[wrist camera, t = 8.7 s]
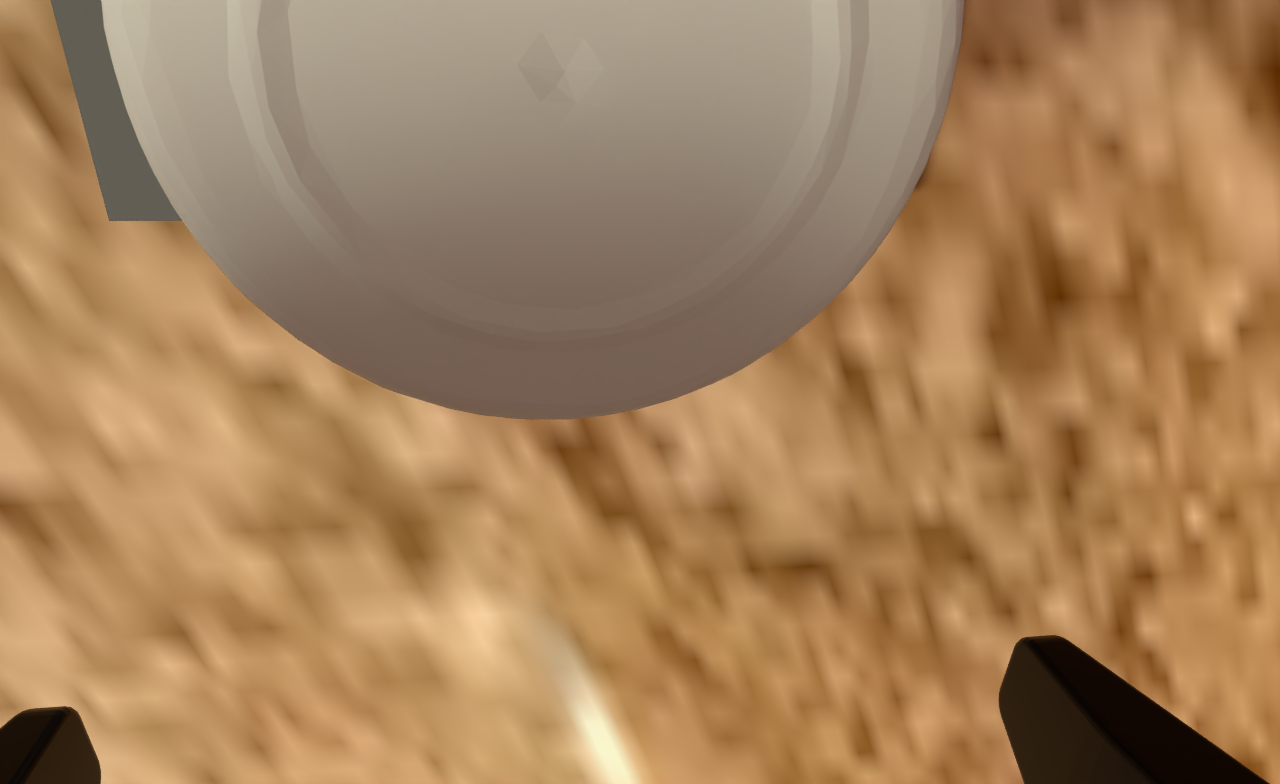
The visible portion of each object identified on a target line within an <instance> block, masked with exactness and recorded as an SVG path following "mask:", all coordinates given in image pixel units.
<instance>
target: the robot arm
mask: <svg viewBox="0 0 1280 784" xmlns="http://www.w3.org/2000/svg"><path fill="white" fill-rule="evenodd" d="M999 708H1000V713H1001V717H1002V720H1003V723H1004V726H1005V729H1006V732H1007V735H1008V738H1009V741H1010V743H1011V746H1012V749H1013V752H1014V755H1015V758H1016V761H1017V764H1018V767H1019V770H1020V773H1021V776H1022V778H1023V781H1024V784H1269V783H1268V782H1267V781H1265V780H1264V779H1262V778H1261V777H1259V776H1258V775H1257V774H1255V773H1254V772H1252V771H1251V770H1250V769H1248V768H1247V767H1245V766H1244V765H1243V764H1241V763H1240V762H1238V761H1237V760H1236V759H1234V758H1233V757H1231V756H1230V755H1229V754H1227V753H1226V752H1224V751H1223V750H1222V749H1220V748H1219V747H1217V746H1216V745H1215V744H1213V743H1212V742H1210V741H1209V740H1208V739H1206V738H1205V737H1203V736H1202V735H1200V734H1199V733H1198V732H1196V731H1195V730H1193V729H1192V728H1191V727H1189V726H1188V725H1186V724H1185V723H1184V722H1182V721H1181V720H1179V719H1178V718H1177V717H1175V716H1174V715H1172V714H1171V713H1170V712H1168V711H1167V710H1165V709H1164V708H1163V707H1161V706H1160V705H1158V704H1157V703H1156V702H1154V701H1153V700H1151V699H1150V698H1148V697H1147V696H1146V695H1144V694H1143V693H1141V692H1140V691H1139V690H1137V689H1136V688H1134V687H1133V686H1132V685H1130V684H1129V683H1127V682H1126V681H1125V680H1123V679H1122V678H1120V677H1119V676H1118V675H1116V674H1115V673H1113V672H1112V671H1111V670H1109V669H1108V668H1106V667H1105V666H1104V665H1102V664H1101V663H1099V662H1098V661H1097V660H1095V659H1094V658H1092V657H1091V656H1089V655H1088V654H1087V653H1085V652H1084V651H1082V650H1081V649H1080V648H1078V647H1077V646H1075V645H1074V644H1073V643H1071V642H1070V641H1068V640H1067V639H1065V638H1063V637H1060V636H1056V635H1048V636H1034V637H1025V638H1022V639H1020V640H1019V641H1018V642H1017V643H1016V645H1015V647H1014V650H1013V653H1012V655H1011V658H1010V661H1009V664H1008V667H1007V670H1006V673H1005V676H1004V679H1003V682H1002V685H1001V687H1000V691H999ZM100 783H101V769H100V764H99V760H98V758H97V755H96V753H95V751H94V748H93V746H92V744H91V741H90V739H89V736H88V734H87V732H86V729H85V727H84V724H83V722H82V720H81V717H80V715H79V714H78V712H77V711H76V710H74V709H73V708H71V707H66V706H63V707H49V708H35V709H28V710H25V711H22V712H21V713H19V714H17V715H16V716H14V717H13V718H12V719H10V720H9V721H8V722H7V723H6V724H5V725H4V726H2V727H1V728H0V784H100Z"/></svg>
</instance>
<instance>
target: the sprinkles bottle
mask: <svg viewBox="0 0 1280 784" xmlns="http://www.w3.org/2000/svg"><path fill="white" fill-rule="evenodd" d="M101 3H102V12H103V23H104V30H105V34H106V38H107V43H108V47H109V51H110V55H111V59H112V63H113V67H114V70H115V74H116V77H117V80H118V84H119V87H120V90H121V94H122V97H123V100H124V104H125V107H126V110H127V112H128V115H129V117H130V120H131V123H132V125H133V128H134V130H135V133H136V135H137V138H138V141H139V143H140V145H141V147H142V149H143V152H144V154H145V156H146V158H147V160H148V162H149V164H150V166H151V168H152V170H153V172H154V174H155V176H156V178H157V180H158V181H159V183H160V185H161V187H162V189H163V190H164V192H165V194H166V196H167V197H168V199H169V201H170V203H171V205H172V206H173V208H174V209H175V211H176V212H177V214H178V215H179V217H180V218H181V219H182V221H183V222H184V224H185V225H186V227H187V228H188V229H189V231H190V232H191V234H192V235H193V237H194V238H195V239H196V241H197V242H198V244H199V245H200V246H201V247H202V248H203V249H204V251H205V252H206V253H207V254H208V255H209V256H210V258H211V259H212V260H213V261H214V262H215V263H216V265H217V266H218V267H219V268H220V269H221V270H222V272H223V273H224V274H225V275H226V276H227V277H228V279H229V280H230V281H231V282H232V283H233V284H234V285H235V286H236V287H237V288H238V289H239V290H240V291H241V292H242V293H243V294H244V295H245V296H246V297H247V298H248V299H249V300H250V301H251V302H252V303H253V304H255V305H256V306H257V307H258V308H259V309H261V310H262V311H263V312H264V313H265V314H266V315H267V316H269V317H270V318H271V319H273V320H274V321H275V322H276V323H278V324H279V325H280V326H281V327H283V328H284V329H285V330H287V331H288V332H289V333H290V334H292V335H293V336H294V337H295V338H297V339H298V340H300V341H301V342H303V343H304V344H306V345H307V346H309V347H310V348H312V349H314V350H315V351H317V352H318V353H320V354H321V355H323V356H324V357H326V358H327V359H329V360H331V361H332V362H334V363H336V364H338V365H340V366H342V367H343V368H345V369H347V370H349V371H351V372H353V373H355V374H357V375H359V376H361V377H363V378H365V379H367V380H369V381H371V382H373V383H375V384H377V385H379V386H381V387H383V388H386V389H389V390H391V391H394V392H397V393H400V394H403V395H406V396H410V397H413V398H416V399H420V400H423V401H426V402H429V403H433V404H436V405H439V406H443V407H446V408H450V409H454V410H459V411H464V412H469V413H474V414H479V415H486V416H495V417H504V418H515V419H530V420H535V419H576V418H585V417H594V416H604V415H610V414H615V413H620V412H625V411H631V410H636V409H640V408H644V407H647V406H651V405H654V404H658V403H661V402H665V401H668V400H672V399H675V398H678V397H680V396H683V395H685V394H688V393H690V392H693V391H695V390H698V389H700V388H703V387H705V386H708V385H710V384H713V383H715V382H717V381H719V380H721V379H723V378H726V377H728V376H730V375H732V374H734V373H736V372H738V371H739V370H741V369H743V368H745V367H746V366H748V365H750V364H751V363H753V362H754V361H756V360H757V359H759V358H761V357H762V356H764V355H765V354H767V353H769V352H770V351H772V350H774V349H775V348H776V347H778V346H779V345H780V344H782V343H783V342H785V341H786V340H787V339H788V338H790V337H791V336H792V335H794V334H795V333H796V332H797V331H799V330H800V329H801V328H802V327H804V326H805V325H806V324H808V323H809V322H810V321H811V320H812V319H813V318H815V317H816V316H817V315H818V314H819V313H820V312H821V311H822V310H823V309H825V308H826V307H827V306H828V305H829V304H830V303H831V302H832V301H833V300H834V299H835V298H836V297H837V296H838V295H839V294H840V293H841V292H842V291H843V289H844V288H845V287H846V286H847V285H848V284H849V283H850V282H851V281H852V280H853V278H854V277H855V276H856V275H857V274H858V272H859V271H860V270H861V269H862V268H863V266H864V265H865V264H866V263H867V262H868V260H869V259H870V258H871V257H872V255H873V254H874V253H875V251H876V250H877V248H878V247H879V246H880V244H881V243H882V241H883V240H884V239H885V237H886V236H887V234H888V233H889V231H890V230H891V228H892V227H893V225H894V223H895V222H896V220H897V218H898V217H899V215H900V213H901V212H902V210H903V208H904V207H905V205H906V203H907V202H908V200H909V198H910V196H911V194H912V192H913V190H914V188H915V186H916V184H917V182H918V181H919V179H920V177H921V175H922V173H923V171H924V169H925V167H926V165H927V162H928V158H929V155H930V152H931V150H932V147H933V145H934V143H935V140H936V138H937V135H938V133H939V131H940V127H941V124H942V121H943V118H944V114H945V111H946V108H947V105H948V101H949V98H950V93H951V88H952V83H953V78H954V73H955V68H956V63H957V58H958V53H959V48H960V43H961V34H962V24H963V11H964V0H101Z"/></svg>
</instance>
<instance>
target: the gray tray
mask: <svg viewBox="0 0 1280 784" xmlns="http://www.w3.org/2000/svg"><path fill="white" fill-rule="evenodd" d="M51 3H52V7H53V11H54V15H55V18H56V22H57V26H58V30H59V34H60V37H61V41H62V45H63V49H64V52H65V56H66V60H67V64H68V67H69V71H70V75H71V79H72V83H73V86H74V90H75V94H76V98H77V101H78V105H79V109H80V113H81V116H82V120H83V124H84V128H85V131H86V135H87V139H88V143H89V147H90V150H91V154H92V158H93V162H94V165H95V169H96V173H97V177H98V180H99V184H100V188H101V192H102V196H103V199H104V203H105V207H106V211H107V214H108V218H109V221H182V219H181V218H180V217H179V215H178V214H177V212H176V211H175V209H174V208H173V206H172V205H171V203H170V201H169V199H168V197H167V196H166V194H165V192H164V190H163V189H162V187H161V185H160V183H159V181H158V180H157V178H156V176H155V174H154V172H153V170H152V168H151V166H150V164H149V162H148V160H147V158H146V156H145V154H144V152H143V149H142V147H141V145H140V143H139V141H138V138H137V135H136V133H135V130H134V128H133V125H132V123H131V120H130V117H129V115H128V112H127V110H126V107H125V104H124V100H123V97H122V94H121V90H120V87H119V84H118V80H117V77H116V74H115V70H114V67H113V63H112V59H111V55H110V51H109V47H108V43H107V38H106V34H105V30H104V23H103V12H102V3H101V0H51Z"/></svg>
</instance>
